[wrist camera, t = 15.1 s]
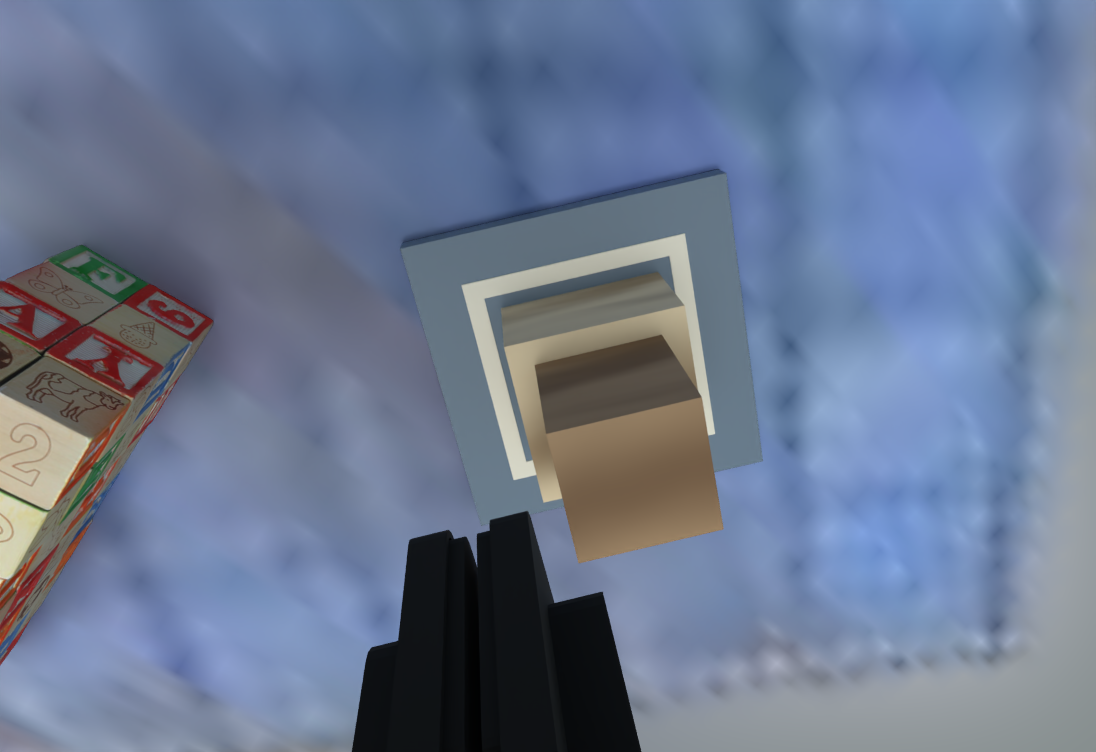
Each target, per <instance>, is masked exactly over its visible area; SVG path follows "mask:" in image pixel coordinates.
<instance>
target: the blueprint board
mask: <svg viewBox="0 0 1096 752" xmlns="http://www.w3.org/2000/svg"><path fill="white" fill-rule="evenodd" d="M400 250H401V254H402V257H403V260H404V264H405V267H406V271H407V274H408V277H409V281H410V284H411V288H412V291H413V294H414V298H415V301H416V305H417V308H418V312H419V315H420V318H421V322H422V325H423V329H424V332H425V335H426V339H427V342H428V346H429V349H430V352H431V356H432V359H433V363H434V366H435V369H436V373H437V376H438V380H439V383H440V386H441V390H442V393H443V397H444V400H445V403H446V407H447V410H448V414H449V417H450V421H451V424H452V427H453V431H454V434H455V438H456V441H457V444H458V448H459V451H460V455H461V458H462V461H463V465H464V468H465V472H466V475H467V478H468V482H469V485H470V489H471V492H472V495H473V499H474V502H475V506H476V509H477V513H478V516H479V519H480V523H481V526H482V525H486V524H490V520H491V519H495V518H500V517H504V516H508V515H512V514H516V513H520V512H524V511H528V512H529V515H530V514H534V513H539V512H543V511H547V510H552V509H556V508H560V507H564V503H563V499H558V500H553V501H549V502H544V503H543V499H542V495H541V491H540V487H539V483H538V479H537V475H536V471H535V467H534V463H533V459H532V456H531V452H530V448H529V444H528V440H527V436H526V432H525V428H524V424H523V420H522V416H521V412H520V408H519V404H518V400H517V397H516V393H515V389H514V385H513V381H512V377H511V373H510V369H509V365H508V361H507V357H506V353H505V349H504V341H503V328H502V315H501V308H504V307H508V306H512V305H517V304H521V303H525V302H530V301H534V300H538V299H543V298H547V297H551V296H556V295H560V294H564V293H569V292H573V291H577V290H582V289H586V288H590V287H594V286H599V285H603V284H607V283H612V282H616V281H620V280H625V279H629V278H633V277H638V276H642V275H646V274H651V273H655V272H658V273H659V274H660V275H661V277H662V278H663V279H664V280H665V281H666V283H667V284H668V285H669V286H670V288H671V289H672V290H673V291H674V293H675V294H676V295H677V296H678V298H679V299H680V300H681V301H682V303H683V304H684V305H685V310H686V317H687V323H688V329H689V336H690V342H691V349H692V355H693V361H694V368H695V374H696V380H697V387H698V392H699V394H700V395H701V397H702V401H703V407H704V413H705V419H706V426H707V432H708V438H709V444H710V450H711V456H712V462H713V468H714V472H718V471H722V470H726V469H731V468H735V467H739V466H744V465H748V464H753V463H757V462H761V461H763V459H762V451H761V443H760V436H759V428H758V420H757V412H756V404H755V396H754V388H753V381H752V373H751V365H750V357H749V349H748V341H747V333H746V326H745V318H744V310H743V302H742V294H741V286H740V278H739V270H738V263H737V255H736V247H735V239H734V231H733V223H732V215H731V208H730V200H729V192H728V184H727V176H726V173H725V172H723V171H721V170H719V169H717V170H713V171H708V172H704V173H700V174H695V175H691V176H687V177H683V178H678V179H674V180H670V181H665V182H661V183H657V184H653V185H648V186H644V187H640V188H635V189H631V190H627V191H622V192H618V193H614V194H610V195H605V196H601V197H597V198H592V199H588V200H584V201H580V202H575V203H571V204H567V205H562V206H558V207H554V208H549V209H545V210H541V211H537V212H532V213H528V214H524V215H519V216H515V217H511V218H507V219H502V220H498V221H494V222H489V223H485V224H481V225H476V226H472V227H468V228H464V229H459V230H455V231H451V232H446V233H442V234H438V235H434V236H429V237H425V238H421V239H416V240H412V241H408V242H403V243H402V246H401V248H400Z"/></svg>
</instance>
